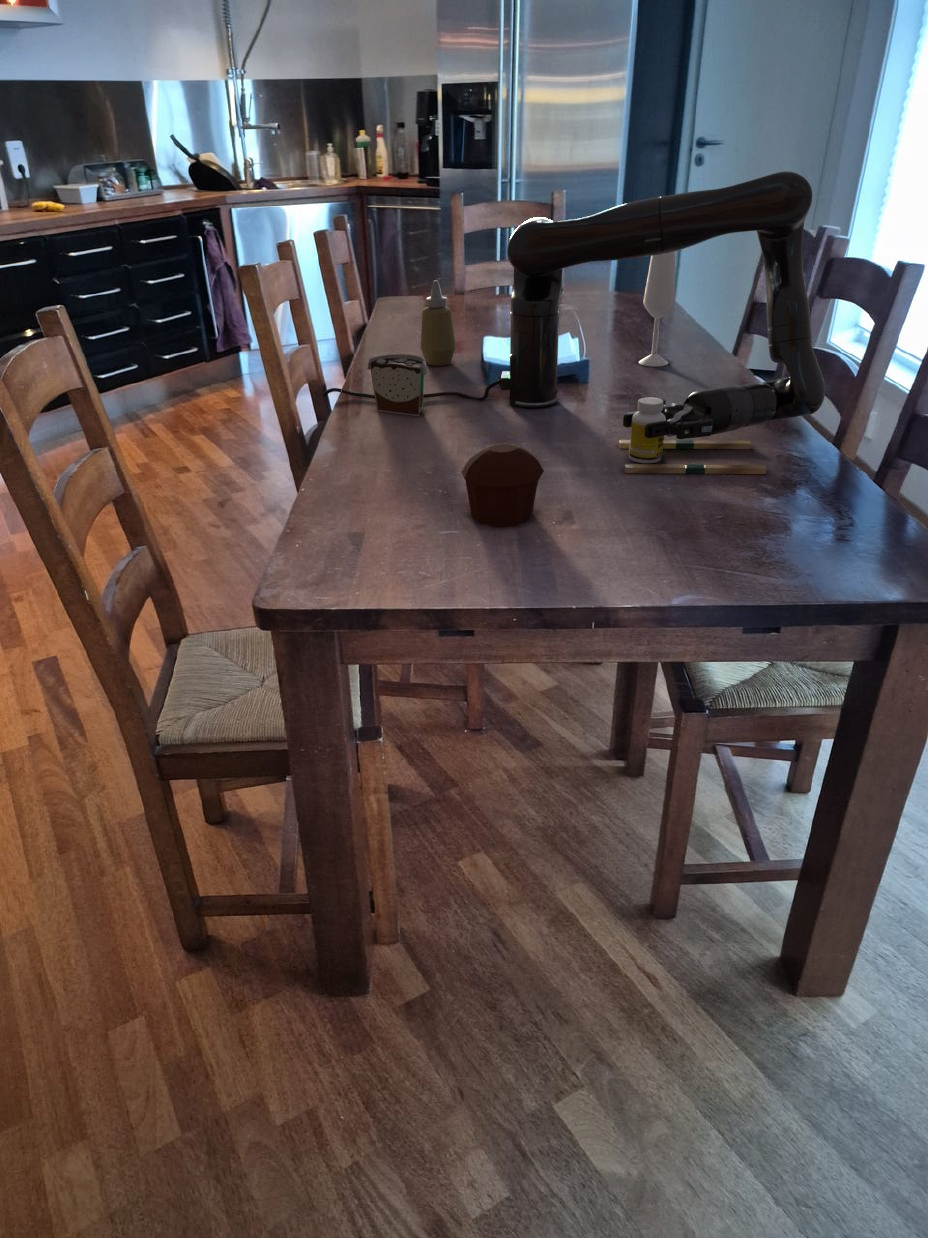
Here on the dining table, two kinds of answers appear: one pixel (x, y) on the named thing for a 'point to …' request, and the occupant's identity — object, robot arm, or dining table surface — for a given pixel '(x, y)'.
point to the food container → (398, 383)
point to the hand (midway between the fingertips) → (635, 426)
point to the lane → (696, 468)
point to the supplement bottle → (639, 444)
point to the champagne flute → (659, 298)
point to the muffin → (502, 484)
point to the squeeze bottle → (437, 329)
